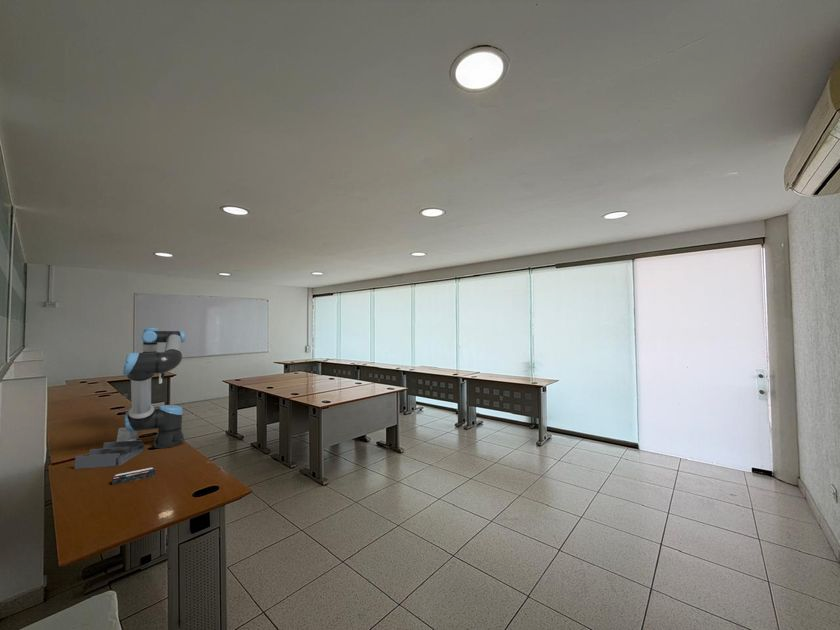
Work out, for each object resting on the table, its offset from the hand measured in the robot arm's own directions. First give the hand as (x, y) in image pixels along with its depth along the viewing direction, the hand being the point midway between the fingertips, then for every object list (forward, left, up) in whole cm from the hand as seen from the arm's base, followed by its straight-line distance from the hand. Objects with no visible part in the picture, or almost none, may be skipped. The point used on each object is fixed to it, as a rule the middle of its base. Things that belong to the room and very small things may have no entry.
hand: (148, 383), depth 215 cm
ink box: (+1, +19, -35) cm, 40 cm away
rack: (-2, +38, -35) cm, 51 cm away
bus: (-25, +69, -36) cm, 82 cm away
